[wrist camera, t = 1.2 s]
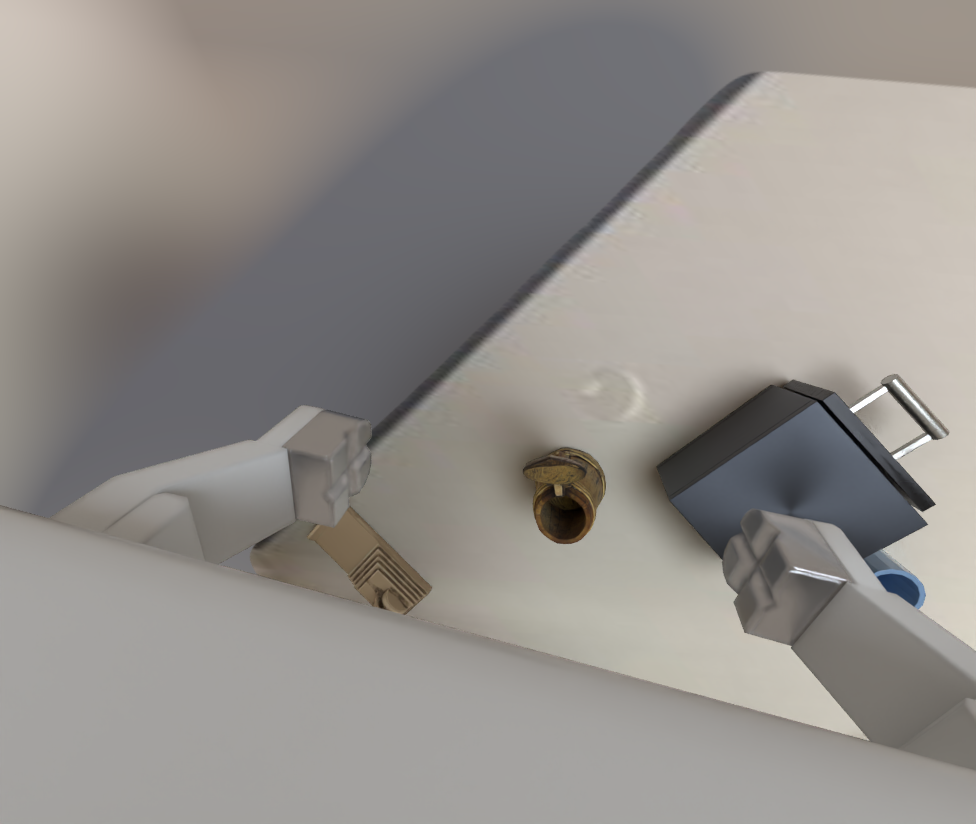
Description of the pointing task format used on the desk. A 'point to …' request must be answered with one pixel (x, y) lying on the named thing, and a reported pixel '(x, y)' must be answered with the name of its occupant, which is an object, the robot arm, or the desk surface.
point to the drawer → (869, 442)
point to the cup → (896, 578)
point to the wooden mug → (566, 493)
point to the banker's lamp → (371, 564)
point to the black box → (784, 475)
